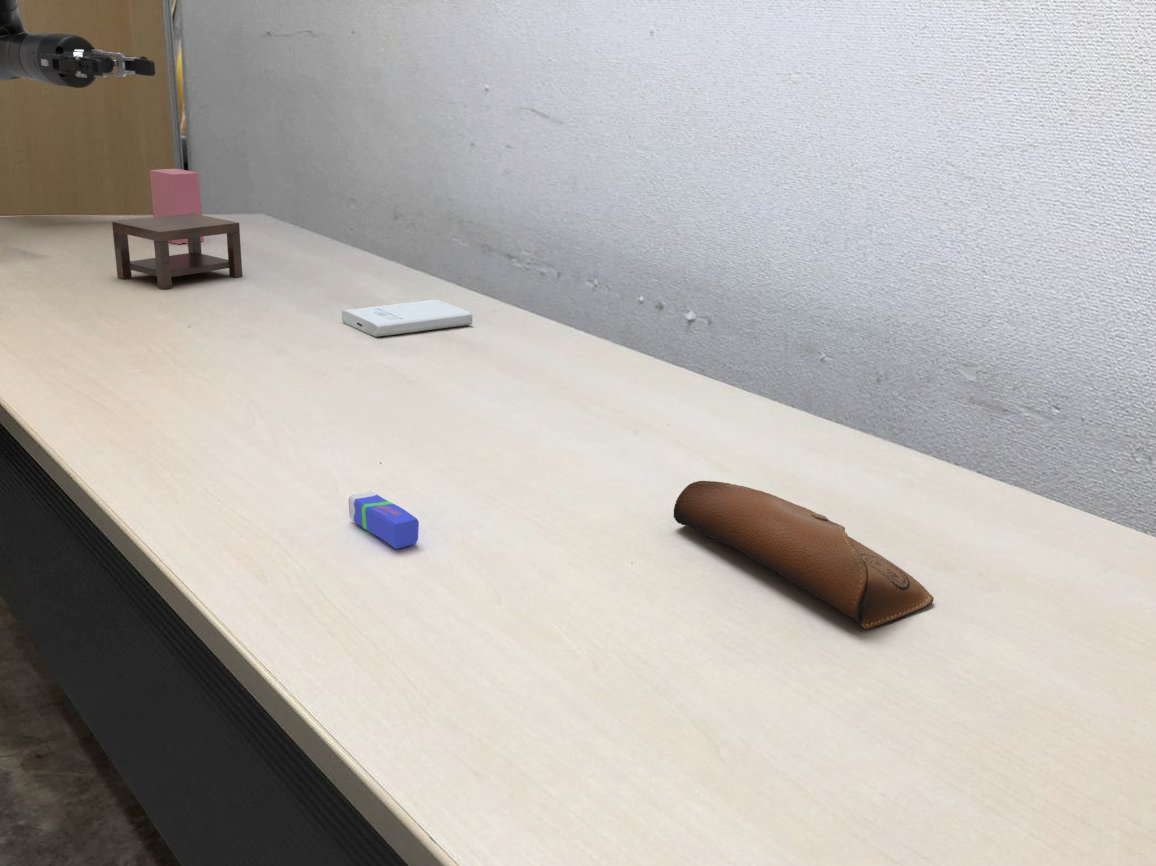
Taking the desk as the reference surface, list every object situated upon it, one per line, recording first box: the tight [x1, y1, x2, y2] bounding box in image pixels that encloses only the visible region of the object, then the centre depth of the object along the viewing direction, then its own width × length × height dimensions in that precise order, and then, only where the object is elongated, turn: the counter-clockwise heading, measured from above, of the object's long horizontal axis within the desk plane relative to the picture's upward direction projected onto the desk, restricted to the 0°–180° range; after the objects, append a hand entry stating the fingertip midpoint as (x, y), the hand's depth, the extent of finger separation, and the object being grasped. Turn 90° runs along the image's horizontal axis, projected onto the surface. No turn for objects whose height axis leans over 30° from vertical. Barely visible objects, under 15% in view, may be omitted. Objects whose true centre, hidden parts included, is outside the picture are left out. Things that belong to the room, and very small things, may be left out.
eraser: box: [348, 490, 420, 550], centre depth 76 cm, size 2×6×2 cm, turn 42°
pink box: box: [149, 168, 204, 245], centre depth 165 cm, size 4×5×10 cm
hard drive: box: [341, 299, 473, 338], centre depth 130 cm, size 2×8×12 cm
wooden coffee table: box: [111, 213, 243, 290], centre depth 143 cm, size 12×9×7 cm
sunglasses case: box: [673, 480, 934, 631], centre depth 76 cm, size 18×7×7 cm
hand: (127, 68), depth 163 cm, fingers open, 8 cm apart
